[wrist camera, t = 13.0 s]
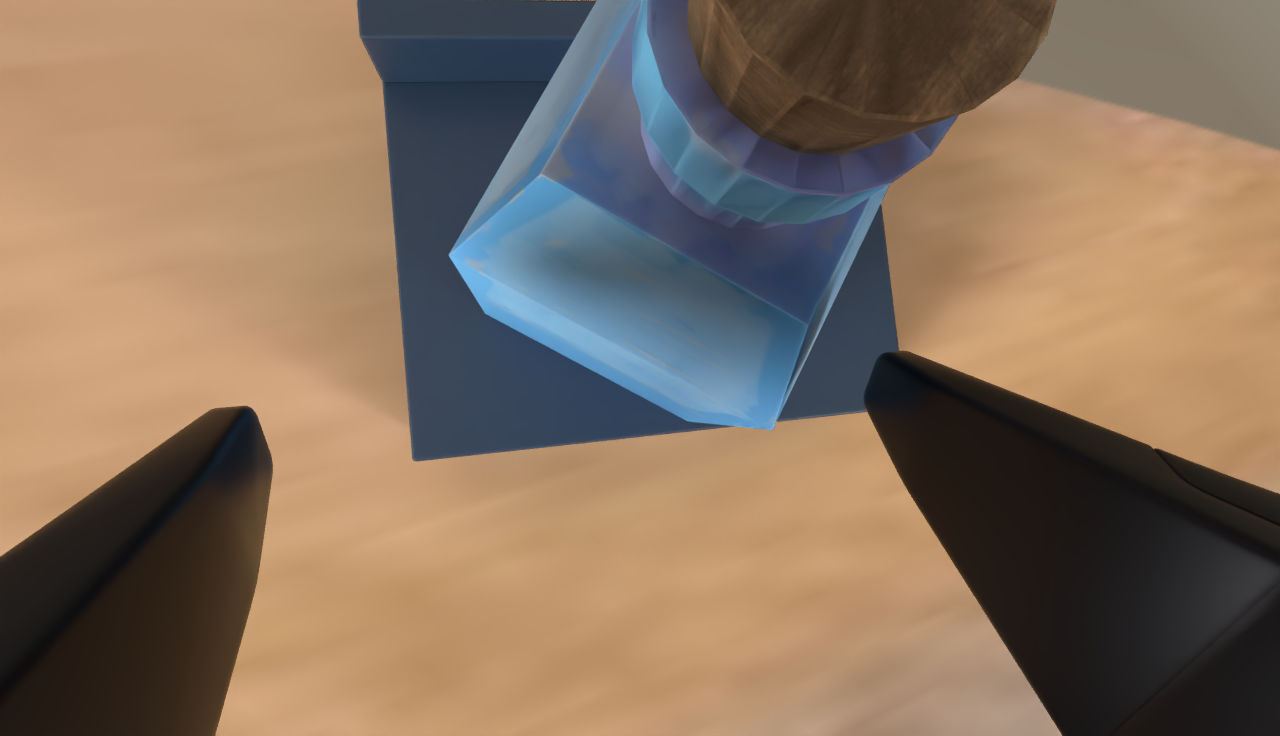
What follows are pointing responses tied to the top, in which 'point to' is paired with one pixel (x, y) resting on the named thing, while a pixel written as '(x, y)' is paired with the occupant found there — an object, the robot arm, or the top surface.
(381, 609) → the top surface
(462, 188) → the riser shelf
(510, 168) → the perfume bottle
